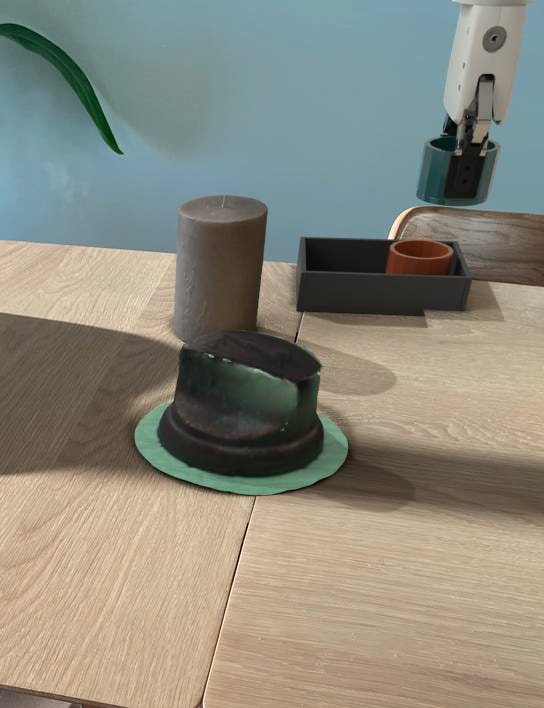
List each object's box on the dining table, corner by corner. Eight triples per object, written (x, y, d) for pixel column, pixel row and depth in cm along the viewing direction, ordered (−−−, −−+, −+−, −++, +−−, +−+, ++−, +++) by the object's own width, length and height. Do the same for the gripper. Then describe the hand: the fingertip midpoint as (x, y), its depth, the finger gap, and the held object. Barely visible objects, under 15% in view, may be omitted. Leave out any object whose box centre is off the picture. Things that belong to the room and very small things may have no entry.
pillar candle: (273, 329, 113) (288, 191, 103) (222, 355, 108) (234, 213, 98) (205, 309, 118) (214, 176, 109) (154, 333, 113) (159, 196, 103)
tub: (449, 278, 124) (457, 241, 121) (463, 317, 114) (472, 278, 111) (295, 272, 127) (300, 236, 124) (296, 311, 117) (301, 272, 114)
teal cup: (481, 187, 104) (493, 135, 101) (493, 207, 98) (506, 153, 95) (412, 186, 105) (421, 135, 102) (419, 205, 99) (429, 152, 96)
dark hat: (382, 408, 95) (327, 514, 82) (217, 456, 107) (146, 555, 93) (327, 263, 89) (258, 352, 76) (159, 330, 101) (74, 417, 87)
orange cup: (440, 281, 122) (449, 240, 119) (447, 302, 116) (456, 260, 113) (380, 279, 123) (388, 238, 120) (384, 300, 117) (392, 257, 114)
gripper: (560, -7, 83) (506, 212, 94) (521, -30, 96) (478, 165, 107) (468, -6, 84) (425, 211, 95) (442, -28, 97) (407, 164, 108)
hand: (453, 185), depth 101 cm, fingers closed on teal cup, 7 cm apart
